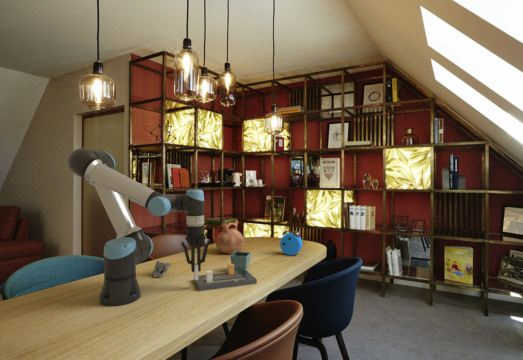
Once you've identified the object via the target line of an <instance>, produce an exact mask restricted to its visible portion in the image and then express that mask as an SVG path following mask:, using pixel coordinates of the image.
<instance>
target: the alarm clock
mask: <svg viewBox="0 0 523 360" xmlns="http://www.w3.org/2000/svg"><path fill="white" fill-rule="evenodd" d="M281 234H282V237H281V238H280V242H279V246H280V250H281V251H282V252H283V253H284V254H285V255H288V256H295V255H298V253H299V252H301V250H302V248H303V241H302V237H301V234H300V232H299V231H297V230H293V232H290V231H289V230H284V231H282V233H281Z"/></svg>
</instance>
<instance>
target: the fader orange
mask: <svg viewBox="0 0 523 360" xmlns="http://www.w3.org/2000/svg"><path fill="white" fill-rule="evenodd" d="M226 266H227V272H228V274H229V275H231V274H234V267H235V265H234V264H231V263H228V264H227V265H226Z"/></svg>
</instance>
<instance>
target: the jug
mask: <svg viewBox="0 0 523 360" xmlns="http://www.w3.org/2000/svg"><path fill="white" fill-rule="evenodd" d="M238 223H239V221H238V220H235V221H234V222H229V223H227V222H223V223H222V224H221V227H222V230H221V232H219V233H218V234H217V236H216V238H215V246H216V248H217V250H218V251H219V252H220V254H223V255H228V256H229V255H232V254H233V253H234V252H241V250H242V249H243V248H244V247H243V246H244V244H245V239H244V238H245V237H244V236H243V234H242V233H241V232H240V231H239V230H238ZM231 226H232V228H230V227H231Z"/></svg>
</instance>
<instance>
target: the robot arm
mask: <svg viewBox="0 0 523 360" xmlns="http://www.w3.org/2000/svg"><path fill="white" fill-rule="evenodd" d="M66 163H67V164H66V165H67V167H68V169H69V170H70V172H71V173H73V175H75V176H77V177H80V178H81V179H84V180H85V181H87V182H88V184H89V185H91V186H93V187H94V188H95V190H96V192H97V194H98V197H99V199H100V201H101V203H102V205H103V207H104V210H105V211H106V214H107V216H108V218H109V220H110V223H111V224H112V227H113V229H114V232H115V233H116V237H115V238H114V239H113V238H112V239H110V240H108V241H107V242H105V244H104V247H103V249H104V250H103V274H104V275H103V278H104V279H103V284H102V287H101V291H99V292H100V293H99V297H98V301H99V304H100V305H102V306H103V305H104V306H109V307H110V306H113V307H114V306H122V305H128V304H131V303H134V302H136V301H137V300H139V299H140V298H141V296H142V294H141V293H142V292H141V287H140V284H139V282H138V279H137V265H138V264H140V263H142V262H145V261H146V260H147V259H148V258H149V257H150V256H151V254H152V252H153V249H154V242H153V240H152V239H151V237H149V236H148V235H146V234H145V233H144V231H143V229H142V228H141V227H139V226H137V225H136V223H135V220H134V218H133V216H132V214H131V212H130V209H129V208H128V205H127V203H126V201H125V199H128V200H130V201H132V202H133V203H135V204H138V205H139V206H142V207H144V208H146V209H147V210H148V211H149V213H150V214H151V215H152V216H155V217H162V216H165V215H168V214H171V213H175V212H178V213H179V212H181V213H182V212H183V213H184V212H186V237H185V239H184V240H183V241H181V242H180V245H181V246H182V248H183V251H184V257H185V258H186V259H185V260H186V263H187V264H188V265H190V266H191V267H190V269H191V270H190V271H191V272H192V273H193V280H194V279H195V280H198V276H199V272H201V270H202V269H201V268H202V267H201V265H202V264H204V263H205V262H206V258H207V253H208V249H209V246H210V244H211V240H210V239H208V238H206V234H205V225H204V224H205V196H204V195H205V193H204V191H203V189H187V190H186V193H185V194H175V193H173V194H171V193H170V194H169V193H168V194H167V193H166V194H161V193H159V192H157V191H155V190H154V189H152V188H150V187H148V186H146V185H144V184H142V183H140V182H138V181H136V180H135V179H132V178H130V177H129V176H127V175H125V174H122V173H120V172H119V171H117V170H115V168H116V161H115V158H114V157H113V156H112V154H110V153H109V152H106V151H104V150H101V149H92V148H85V147H84V148H83V147H81V148H77V149H75V150H72V151H71V152H70V154H69V155H68V157H67V159H66ZM124 198H125V199H124ZM187 243H188V244H187ZM203 244H204V245H203ZM187 245H189V246H190V255H189V251H188V247H187ZM202 245H203V250H201V249H202ZM195 249H196V250H195ZM201 251H202V253H201ZM195 253H196V254H195ZM195 258H196V259H195ZM195 261H196V262H197V263H196V262H195Z"/></svg>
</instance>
